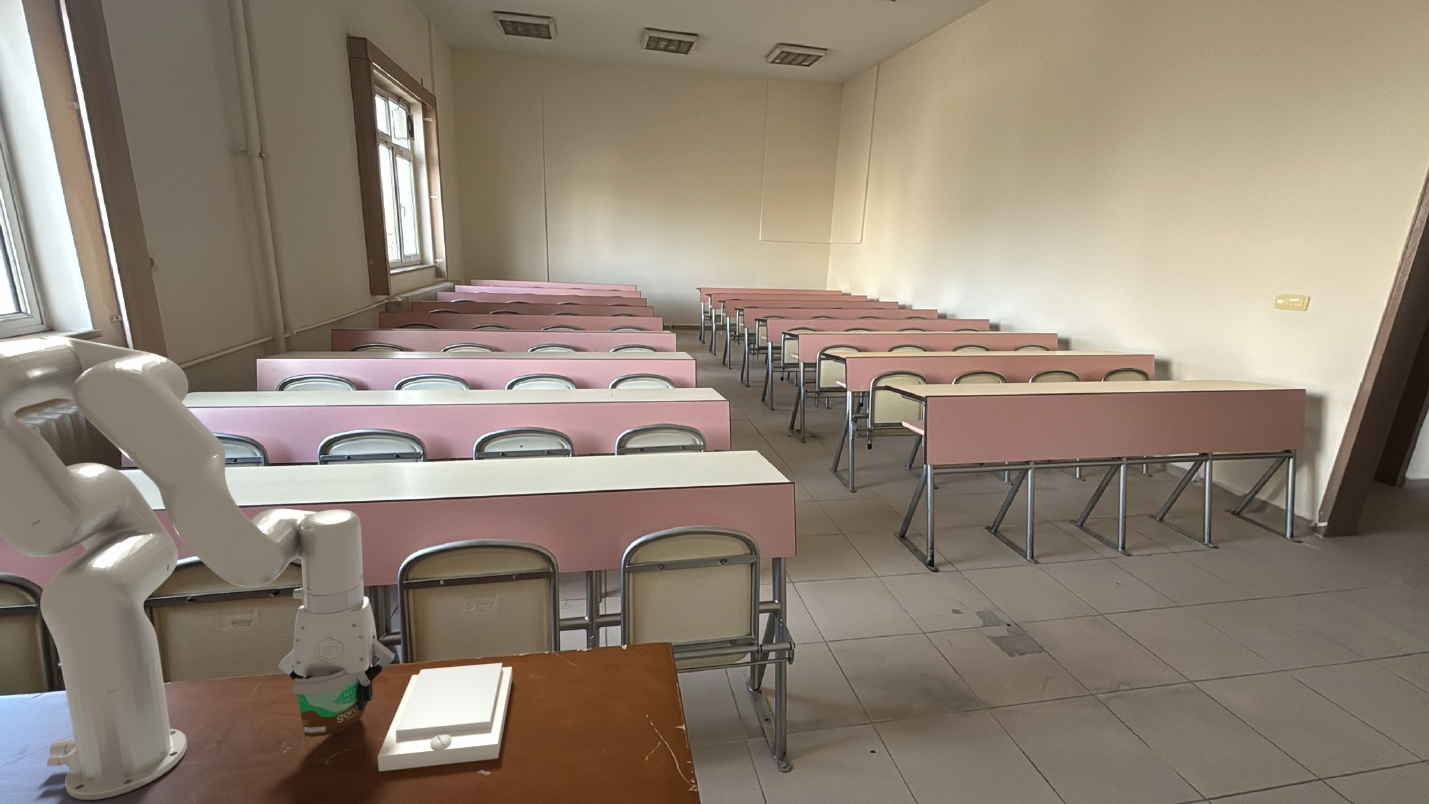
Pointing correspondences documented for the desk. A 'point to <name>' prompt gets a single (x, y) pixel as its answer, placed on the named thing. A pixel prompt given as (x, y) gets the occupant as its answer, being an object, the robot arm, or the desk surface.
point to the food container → (328, 702)
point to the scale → (448, 717)
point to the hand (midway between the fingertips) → (339, 705)
